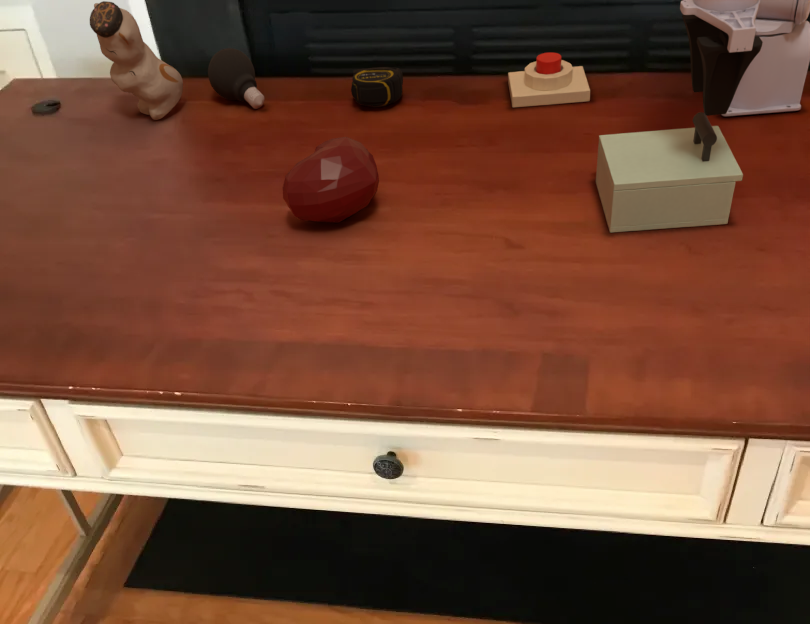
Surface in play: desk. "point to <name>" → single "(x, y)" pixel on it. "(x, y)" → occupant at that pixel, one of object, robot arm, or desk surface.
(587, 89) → the control block
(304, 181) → the heart
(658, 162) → the freezer lid
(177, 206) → the desk surface
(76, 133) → the desk surface
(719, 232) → the desk surface
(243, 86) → the dark brown bulb-shaped piece
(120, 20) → the figurine
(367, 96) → the tape measure
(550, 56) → the power button
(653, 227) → the box
